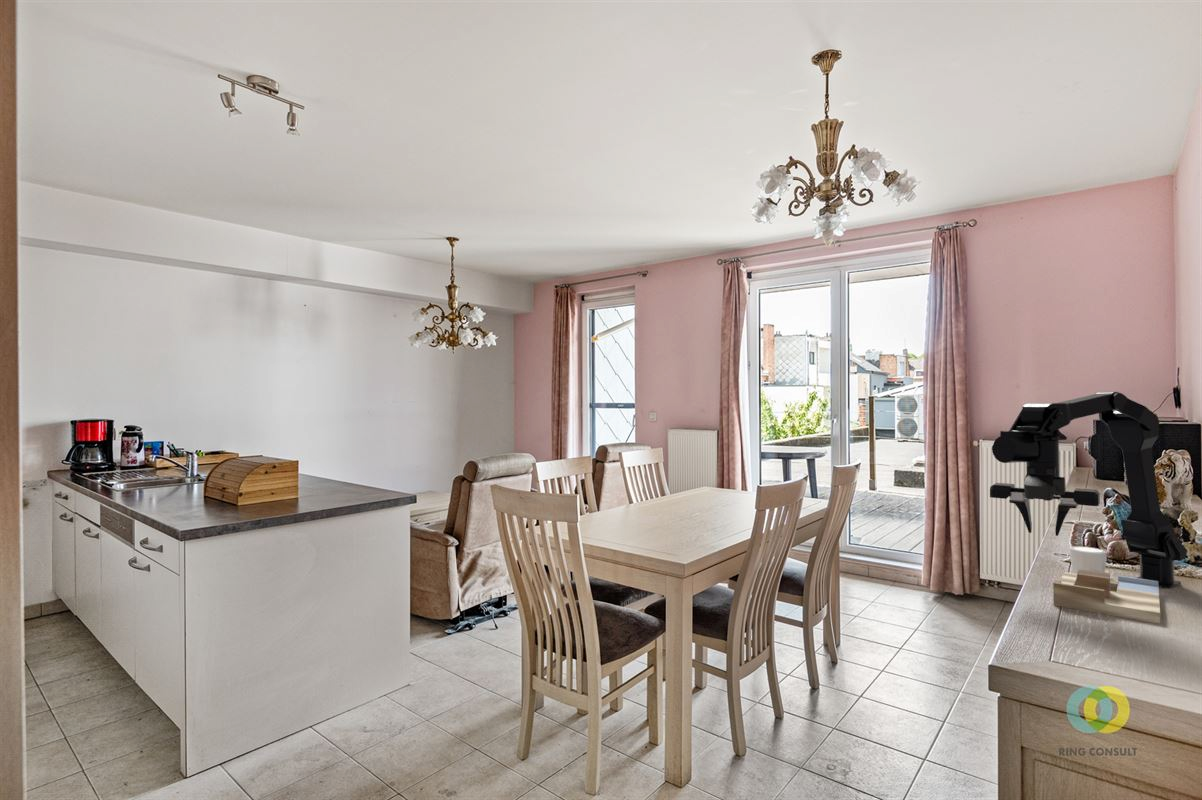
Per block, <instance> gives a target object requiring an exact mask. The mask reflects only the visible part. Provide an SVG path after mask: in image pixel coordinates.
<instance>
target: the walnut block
mask: <svg viewBox="0 0 1202 800" xmlns="http://www.w3.org/2000/svg"><path fill="white" fill-rule="evenodd" d="M1110 579H1111V574H1110V572H1106V571H1105V572H1098V571H1091V570H1084V569H1079V570H1078V573H1077V586H1083V587H1090V588H1096V589H1103V590H1104V591H1105V598H1108V599H1109V596H1110Z"/></svg>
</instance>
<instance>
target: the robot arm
mask: <svg viewBox="0 0 1202 800" xmlns="http://www.w3.org/2000/svg"><path fill="white" fill-rule="evenodd" d="M1097 414H1098V418H1099V420H1100V421H1101V422H1102V423H1103V424H1105V425H1106V426H1107V427H1108V430H1109V434H1110V437H1111V439H1112V440H1113V441H1114V442H1115V444H1116V445H1118V447H1119V448H1120V449H1121V451H1122V456H1123V465H1124V470H1125V471H1124V472H1125V479H1126V484H1127V490H1128V498H1129V504H1130V513H1129V514H1128V516H1127V517H1126V518H1125V519H1124V518H1123V519H1122V520H1121V521H1120V524H1121V528H1122V535H1121V536H1122V537H1124V539H1125V543H1126V545H1127V548H1128V552H1129V553H1133V554H1134V553H1136V554H1139V576H1137V577H1136V578H1139V579H1146V580H1153V581H1158V587H1161V588H1166V589H1171V588H1174V587H1177V586H1179V585H1182V581H1179V580H1175V562H1182V561H1184V560H1186V559H1187V556H1188V550H1187V547H1185V546H1184V544H1183V543H1182V542H1181V541H1180V539H1179V538H1178V537H1177V536H1176V533H1175V530H1174V526H1173V524H1172V522H1171V521H1170V520H1169V518H1168V517H1167V516H1166V514H1164V513H1163V512H1162V510H1161V505H1160V498H1159V492H1158V490H1159V489H1158V484H1157V478H1156V477H1157V476H1156V471H1155V467H1154V466H1155V464H1154V463H1155V462H1154V456H1153V449H1152V447H1153V446H1154V444H1155V442H1156V441H1157V440H1158V438H1159V436H1160V420H1159V416H1158V415H1157V413H1154V411H1152V410H1150V409H1149V408H1148V407H1147V406H1145V405H1143V404H1141V403H1138V402H1136V401H1134V400H1133V399H1130V398H1129V397H1127V396H1126V395H1125V394H1124V393H1122V392H1118V391H1099V392H1097V393H1096V392H1095V393H1094V394H1090V395H1086V396H1081V397H1077V398H1072V399H1069V400H1064V401H1059V402H1031V403H1030V402H1028V403H1025V404H1024V405H1022V408H1021V411H1020V412H1019V414H1018V415H1017V417H1016V419H1015V421H1014V422H1013V424H1012V425H1011V427H1010V429H1009V430H1001V431H1000V432H999V433H1000V434H999V435H1000V436H998V437H997V438H996V439H994V442H993V445H992V446H991V450H992V451H991V452H992V455H993V456H994V458H995V459H996V460H997V461H998V462H1000V463H1002V464H1003V463H1004V464H1014V463H1026V465H1025V466H1026V469H1025V471H1026V475H1025V477H1024V479H1023V481H1024V482H1023V485H1024V486H1023V487H1015V483H1006V482H995V483H993V484H992V485H991V486H990V487H989V498H993V499H1002V500H1003V499H1004V500H1005V499H1008V498H1009V500H1008V501H1009V502H1008V503H1010V504H1014V505H1015V506H1016V508H1017V509H1018V511H1019V512H1020V514H1021V516H1022V518H1023V521H1024V524H1025V527H1026V529H1027V531H1028V533H1029V534H1032V532H1033V529H1032V528H1033V525H1032V524H1033V523H1032V522H1033V521H1032V514H1031V506H1030V500H1043V501H1045V502H1047V501H1052V500H1059V504H1058V505H1057V516H1056V521H1055V522H1056V523H1055V532H1054V533H1055V537H1058V536H1059V535H1060V532H1061V529H1062V526H1063V525H1064V521H1065V519H1066V517H1067V515H1068V513H1069V511H1070V510H1071V509H1076V508H1078V506H1087V507H1088V506H1090V507H1099V506H1100V505H1101V495H1100V494H1101V493H1100V492H1099V491H1098V490H1097V489H1091V488H1080V487H1079V488H1077V487H1076V488H1074V490H1073V491H1071V490H1070V491H1069V490H1068V491H1067V490H1066V488H1067V486H1066V478H1065V476H1060V441H1066V440H1067V439H1068V437H1067V436H1066V435H1065V434H1064V433H1062V432H1061V431H1060V429H1063V428H1064V427H1066V426H1067V427H1068V426H1069V425H1070V424H1071V422H1072V421H1073V420H1076V419H1077V420H1078V419H1080V418H1085V417H1089V416H1093V415H1097Z"/></svg>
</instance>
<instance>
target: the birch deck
mask: <svg viewBox="0 0 1202 800" xmlns="http://www.w3.org/2000/svg"><path fill="white" fill-rule="evenodd" d="M1117 587H1118V579H1115V578H1110V596H1109V599H1108V598H1105V591H1104V590H1103V589H1096V588H1090V587H1083V586H1077V574H1074V573H1072V572H1066V571H1065V572H1063V574H1062V576H1061V578H1060V579H1054V581H1053V587H1052V588H1053V593H1052V594H1053V606H1055V607H1056V606H1057V607H1062V608H1067V609H1073V610H1079V611H1084V612H1085V611H1086V612H1090V613H1091V612H1092V613H1096V614H1101V615H1107V616H1108V615H1109V616H1113V617H1119V618H1126V619H1129V620H1130V619H1132V620H1136V621H1143V622H1148V623H1153V624H1158V625H1160V624H1161V608H1160V607H1161V606H1160V605H1161V604H1160V593H1159V594H1156V593H1149V592H1142V591H1136V590H1129V589H1122V588H1117Z"/></svg>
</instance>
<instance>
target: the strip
mask: <svg viewBox="0 0 1202 800" xmlns="http://www.w3.org/2000/svg"><path fill="white" fill-rule="evenodd" d="M1117 580H1118V587H1117V588H1122V589H1129V590H1136V591H1142V592H1149V593H1156V594H1159V595H1160V590H1159V588H1160V586H1158V581H1153V580H1146V579H1139V578H1137V577H1130V576H1124V575H1118V578H1117Z"/></svg>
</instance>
